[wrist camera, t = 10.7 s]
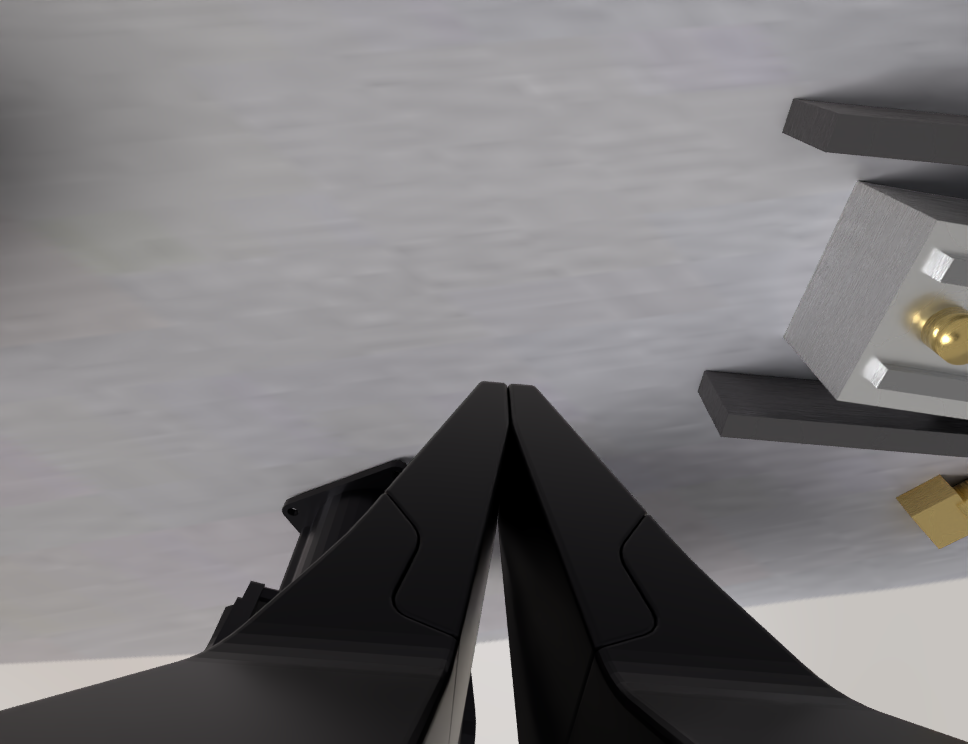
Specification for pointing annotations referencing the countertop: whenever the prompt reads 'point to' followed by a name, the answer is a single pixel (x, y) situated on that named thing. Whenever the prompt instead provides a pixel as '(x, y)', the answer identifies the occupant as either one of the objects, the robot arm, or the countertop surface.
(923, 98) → the countertop surface
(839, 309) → the block
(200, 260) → the countertop surface
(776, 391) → the bracket
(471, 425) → the robot arm
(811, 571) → the countertop surface
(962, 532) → the gold elongated piece
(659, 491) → the countertop surface
